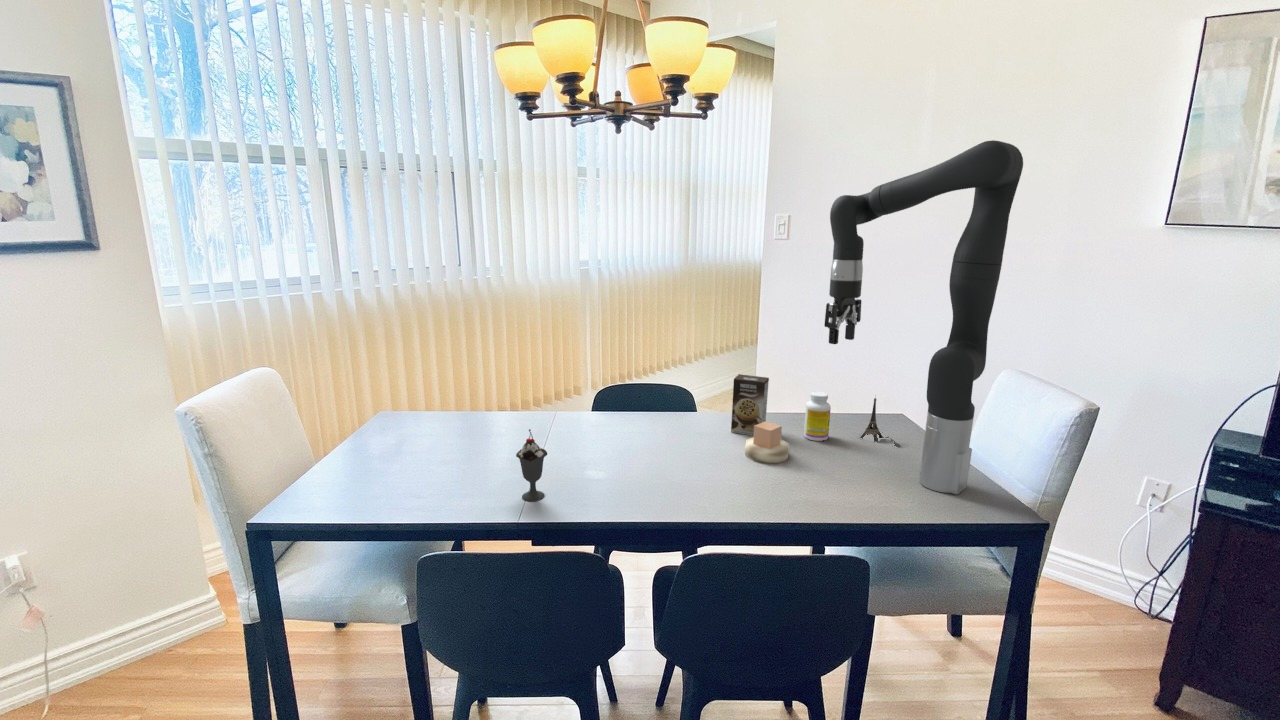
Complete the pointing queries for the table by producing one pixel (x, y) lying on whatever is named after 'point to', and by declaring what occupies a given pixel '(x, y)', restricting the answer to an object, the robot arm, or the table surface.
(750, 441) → the plinth
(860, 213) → the robot arm
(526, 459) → the sundae
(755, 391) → the coffee box
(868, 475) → the table surface
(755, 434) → the cube
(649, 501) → the table surface
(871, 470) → the table surface
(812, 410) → the supplement bottle
